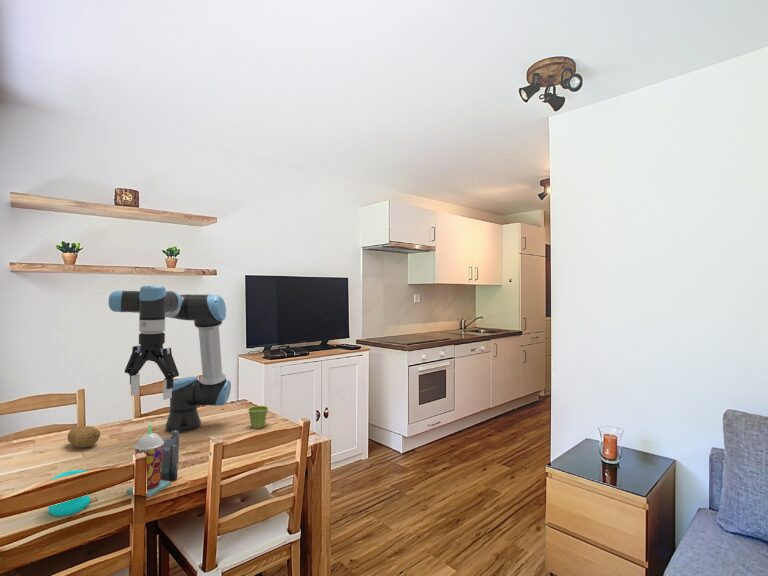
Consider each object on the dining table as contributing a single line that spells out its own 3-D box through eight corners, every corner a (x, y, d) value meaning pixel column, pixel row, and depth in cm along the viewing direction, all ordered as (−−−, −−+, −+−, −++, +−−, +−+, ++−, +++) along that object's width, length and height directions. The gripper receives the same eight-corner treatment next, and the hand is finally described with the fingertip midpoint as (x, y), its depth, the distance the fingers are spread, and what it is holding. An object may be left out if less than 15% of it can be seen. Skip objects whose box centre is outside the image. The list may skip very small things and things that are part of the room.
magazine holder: (144, 475, 144) (145, 441, 144) (174, 460, 157) (175, 429, 157) (173, 481, 141) (173, 446, 141) (201, 465, 154) (202, 433, 154)
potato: (84, 439, 177) (84, 421, 177) (106, 444, 172) (107, 425, 172) (59, 448, 167) (59, 428, 167) (82, 453, 162) (82, 433, 162)
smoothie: (136, 482, 137) (137, 422, 137) (164, 477, 141) (165, 419, 141) (132, 493, 130) (133, 430, 130) (162, 489, 133) (163, 427, 133)
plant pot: (264, 430, 192) (264, 411, 192) (244, 429, 192) (244, 411, 192) (270, 423, 201) (270, 406, 201) (251, 423, 202) (251, 405, 202)
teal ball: (78, 465, 129) (98, 472, 125) (78, 497, 129) (97, 505, 125) (41, 478, 120) (61, 486, 116) (40, 512, 120) (60, 521, 116)
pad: (126, 493, 132) (126, 489, 132) (149, 480, 141) (149, 477, 141) (148, 497, 130) (148, 494, 130) (170, 484, 138) (170, 481, 138)
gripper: (112, 331, 135) (111, 395, 135) (173, 335, 128) (172, 403, 128) (132, 329, 143) (131, 390, 143) (191, 333, 135) (190, 397, 135)
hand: (151, 396), depth 135 cm, fingers open, 13 cm apart
